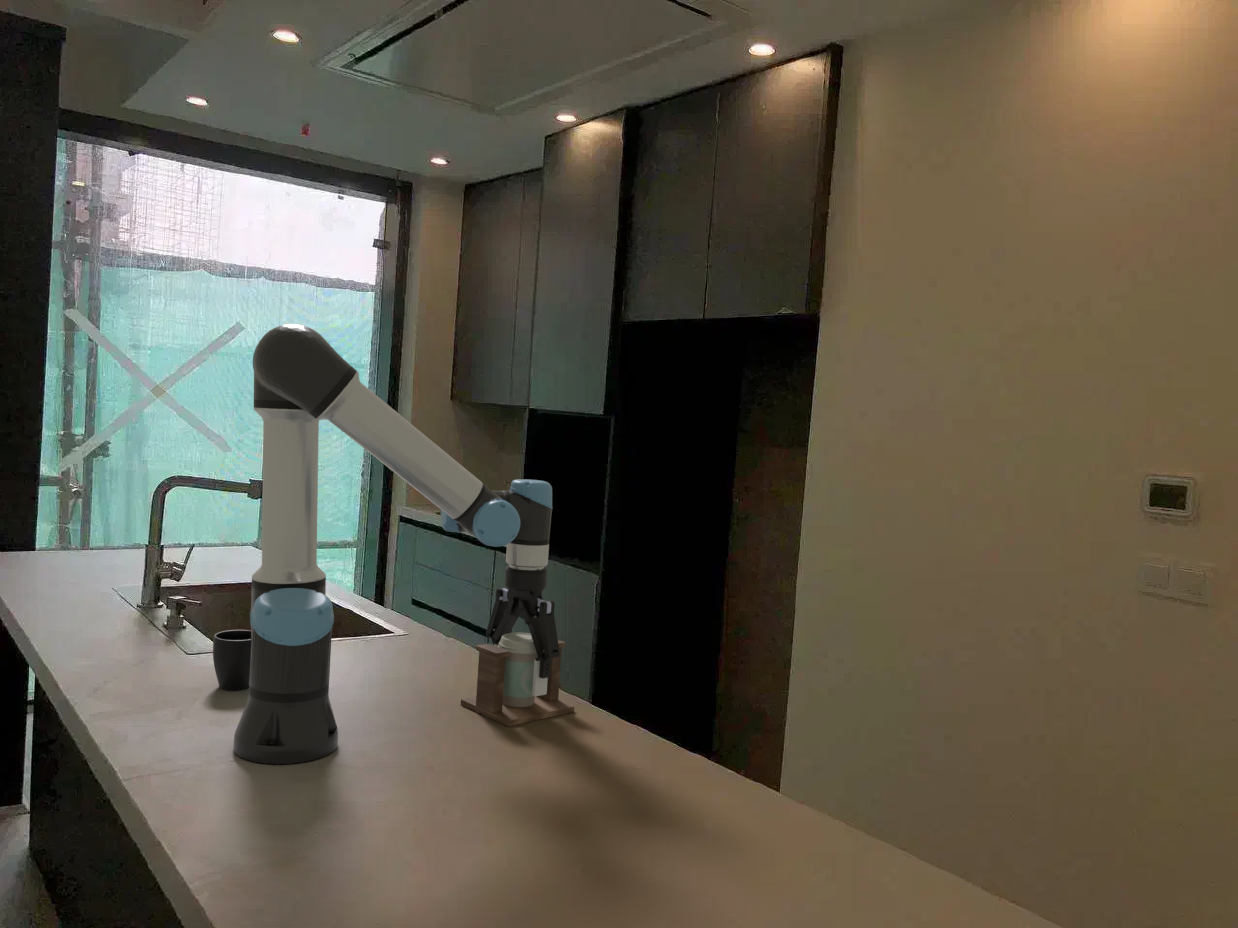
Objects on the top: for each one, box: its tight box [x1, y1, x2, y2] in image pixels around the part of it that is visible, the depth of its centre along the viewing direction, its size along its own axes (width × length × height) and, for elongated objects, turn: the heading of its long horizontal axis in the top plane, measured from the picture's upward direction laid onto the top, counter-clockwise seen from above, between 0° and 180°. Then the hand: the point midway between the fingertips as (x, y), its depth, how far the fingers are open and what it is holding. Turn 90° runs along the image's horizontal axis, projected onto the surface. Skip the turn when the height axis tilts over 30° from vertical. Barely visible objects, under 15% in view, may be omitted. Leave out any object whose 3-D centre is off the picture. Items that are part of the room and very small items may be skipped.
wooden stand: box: [460, 639, 575, 727], centre depth 176 cm, size 16×14×12 cm
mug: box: [212, 629, 251, 692], centre depth 179 cm, size 8×12×10 cm
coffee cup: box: [498, 632, 544, 708], centre depth 176 cm, size 9×9×12 cm
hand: (518, 686), depth 176 cm, fingers open, 11 cm apart
